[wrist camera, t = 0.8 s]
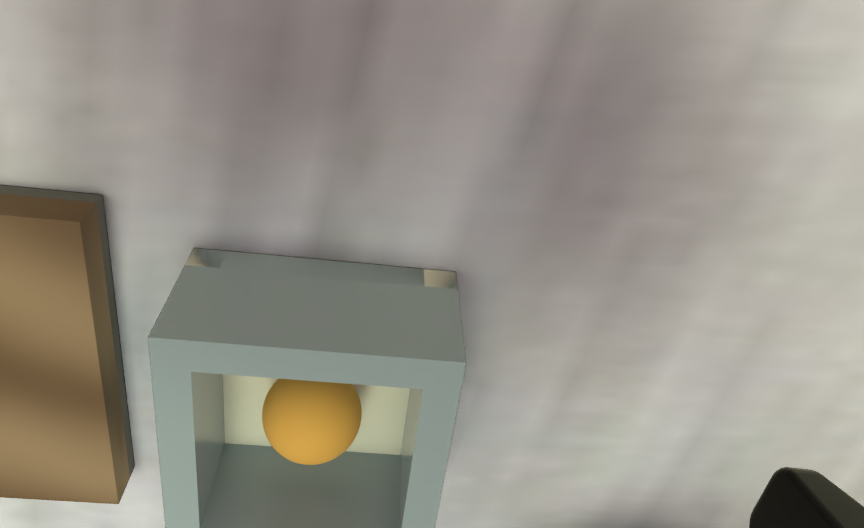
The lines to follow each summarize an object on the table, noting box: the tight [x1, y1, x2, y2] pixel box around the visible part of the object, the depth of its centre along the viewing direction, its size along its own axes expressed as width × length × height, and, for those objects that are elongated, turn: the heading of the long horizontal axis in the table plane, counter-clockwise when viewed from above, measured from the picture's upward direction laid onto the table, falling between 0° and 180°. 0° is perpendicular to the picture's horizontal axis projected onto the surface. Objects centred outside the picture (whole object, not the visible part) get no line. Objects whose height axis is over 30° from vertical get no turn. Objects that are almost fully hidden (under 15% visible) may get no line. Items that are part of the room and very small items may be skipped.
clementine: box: [262, 379, 362, 465], centre depth 22 cm, size 3×3×3 cm
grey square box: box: [148, 248, 466, 528], centre depth 22 cm, size 8×8×4 cm
